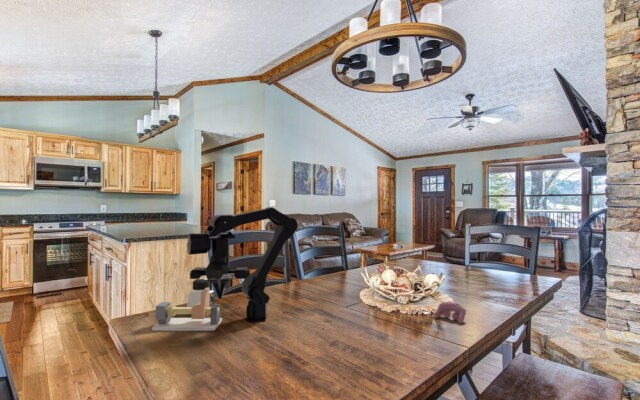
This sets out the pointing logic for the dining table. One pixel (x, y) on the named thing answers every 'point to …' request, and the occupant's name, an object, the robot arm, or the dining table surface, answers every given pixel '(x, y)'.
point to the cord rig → (185, 324)
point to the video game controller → (449, 306)
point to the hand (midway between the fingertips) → (220, 298)
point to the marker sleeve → (201, 305)
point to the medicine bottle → (199, 293)
